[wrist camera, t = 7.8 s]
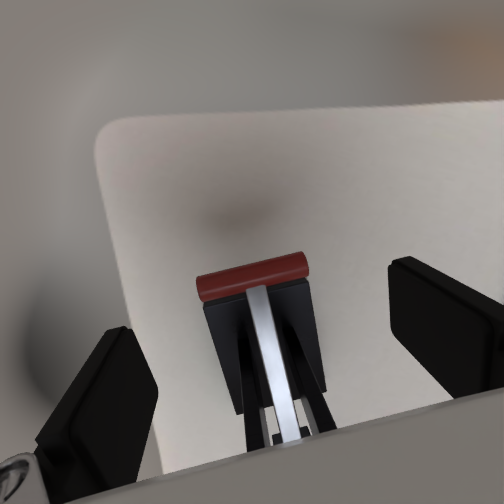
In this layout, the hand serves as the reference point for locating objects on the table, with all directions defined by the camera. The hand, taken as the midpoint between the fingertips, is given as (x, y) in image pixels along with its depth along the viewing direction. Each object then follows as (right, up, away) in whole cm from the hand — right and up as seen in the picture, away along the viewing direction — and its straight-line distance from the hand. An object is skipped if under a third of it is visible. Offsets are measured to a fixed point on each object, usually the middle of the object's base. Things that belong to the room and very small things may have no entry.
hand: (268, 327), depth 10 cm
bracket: (+1, -6, +16) cm, 17 cm away
